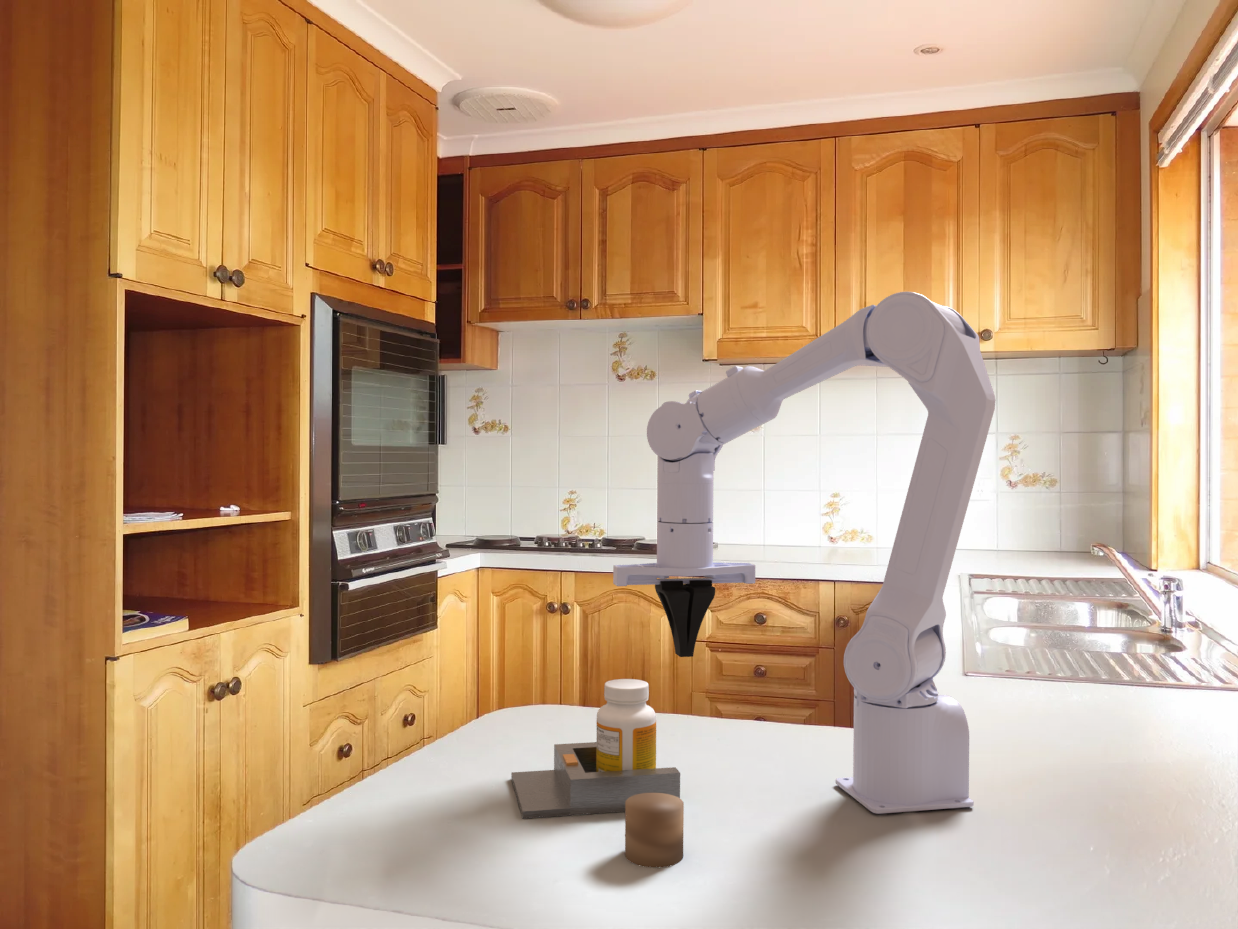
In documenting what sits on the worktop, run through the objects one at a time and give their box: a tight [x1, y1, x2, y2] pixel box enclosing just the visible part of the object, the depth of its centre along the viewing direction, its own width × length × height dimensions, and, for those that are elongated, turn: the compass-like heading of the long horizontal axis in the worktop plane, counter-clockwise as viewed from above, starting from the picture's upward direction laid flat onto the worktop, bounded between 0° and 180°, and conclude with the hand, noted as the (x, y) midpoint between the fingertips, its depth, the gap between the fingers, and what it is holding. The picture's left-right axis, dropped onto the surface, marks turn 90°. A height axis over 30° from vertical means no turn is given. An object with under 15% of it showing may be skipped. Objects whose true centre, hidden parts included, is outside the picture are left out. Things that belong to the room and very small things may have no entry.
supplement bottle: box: [596, 678, 657, 772], centre depth 86 cm, size 5×5×10 cm
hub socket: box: [511, 741, 681, 819], centre depth 86 cm, size 14×10×3 cm
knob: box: [624, 793, 685, 869], centre depth 72 cm, size 4×4×4 cm
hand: (684, 655), depth 98 cm, fingers closed
